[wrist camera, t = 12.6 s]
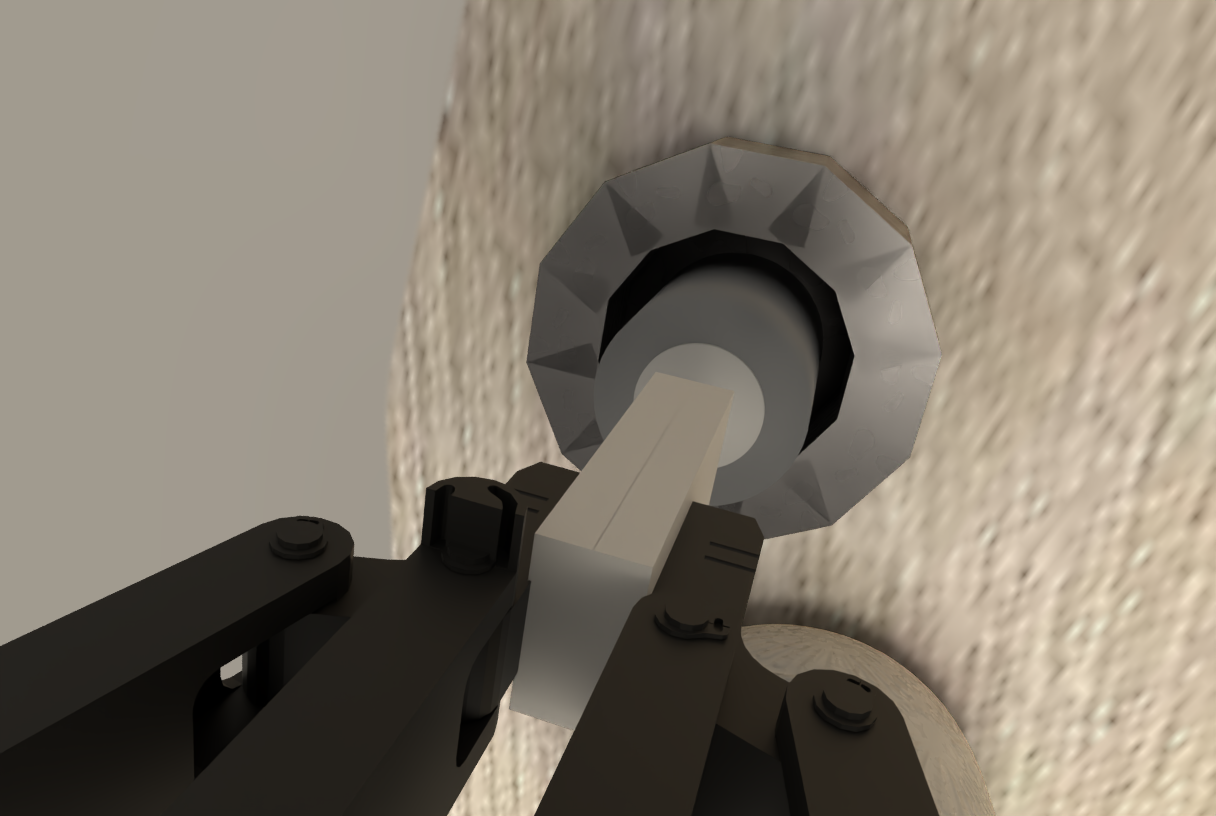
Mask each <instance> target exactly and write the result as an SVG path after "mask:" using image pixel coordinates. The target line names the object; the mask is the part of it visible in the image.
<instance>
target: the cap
mask: <svg viewBox="0 0 1216 816" xmlns="http://www.w3.org/2000/svg"><path fill="white" fill-rule="evenodd" d="M822 350H823V328H822V322H821V318H820V314H819V312H818V309H817V306H816V304H815V302H814V300H813V298H812V297H811V295H810V293H809V292H808V290H807V289H806V288H805V286H804V285H803V284H802V283H801V282H800V281H799V280H798V279H797V278H796V277H795V276H794V275H793V274H792V273H791V272H789V271H788V270H787V269H786V268H784V267H782V266H781V265H779V264H777V263H775V262H773V261H771V260H769V259H766V258H764V257H760V256H757V255H753V254H746V253H722V254H716V255H712V256H708V257H705V258H703V259H700V260H698V261H695V262H694V263H692V264H690V265H688V266H687V267H685V268H684V269H683V270H681V271H680V272H679V273H677V274H676V275H675V276H674V277H673V278H672V279H671V280H670V281H669V282H668V283H667V284H666V285H665V286H664V287H663V288H662V289H661V290H660V291H659V292H658V293H657V294H656V295H655V296H654V297H653V298H652V299H651V300H650V301H649V302H648V303H647V304H646V305H645V306H644V307H643V308H642V309H641V310H640V311H639V312H638V313H637V314H636V315H635V316H634V317H633V318H632V319H631V320H630V321H629V322H628V323H627V324H626V325H625V326H624V327H623V328H622V329H621V330H620V331H619V332H618V333H617V334H616V335H615V337H614V338H613V339H612V341H611V342H610V343H609V345H608V347H607V349H606V350H605V352H604V354H603V356H602V358H601V361H600V364H599V366H598V369H597V373H596V378H595V384H594V410H595V415H596V421H597V424H598V427H599V430H600V433H601V436H602V438H603V440H605V439H606V438H607V436H608V435H609V434H610V432H611V431H612V430H613V428H614V427H615V426H616V424H617V423H618V422H619V420H620V419H621V418H622V416H623V415H624V414H625V412H626V411H627V410H628V408H629V407H630V406H631V404H632V403H633V402H634V400H635V399H636V398H637V396H638V395H639V394H640V392H641V391H642V390H643V388H644V387H645V386H646V384H647V383H648V382H649V380H650V379H651V378H652V376H653V375H654V374H655V372H659V373H663V374H667V375H671V376H675V377H679V378H683V379H687V380H691V381H695V382H699V383H703V384H707V385H712V386H716V387H720V388H724V389H728V390H732V391H735V392H734V396H733V401H732V405H731V410H730V414H729V418H728V423H727V427H726V432H725V436H724V440H723V445H722V449H721V454H720V458H719V462H718V467H717V471H716V476H715V480H714V485H713V489H712V493H711V498H710V502H709V506H720V505H726V504H732V503H736V502H739V501H743V500H746V499H748V498H750V497H753V496H755V495H757V494H759V493H761V492H762V491H764V490H766V489H767V488H769V487H770V486H771V485H773V484H774V483H775V482H776V481H778V480H779V479H780V478H781V477H782V476H783V475H784V474H785V473H786V472H787V470H788V469H789V468H790V467H791V465H792V464H793V462H794V461H795V460H796V458H797V456H798V454H799V452H800V450H801V448H802V446H803V444H804V441H805V438H806V435H807V431H808V426H809V421H810V415H811V410H812V404H813V399H814V394H815V388H816V383H817V377H818V372H819V366H820V361H821V356H822Z"/></svg>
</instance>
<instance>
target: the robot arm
mask: <svg viewBox="0 0 1216 816" xmlns="http://www.w3.org/2000/svg"><path fill="white" fill-rule="evenodd" d="M734 392H735V391H732V390H728V389H724V388H720V387H716V386H712V385H707V384H703V383H699V382H695V381H691V380H687V379H683V378H679V377H675V376H671V375H667V374H663V373H659V372H655V374H654V375H653V376H652V378H651V379H650V380H649V382H648V383H647V384H646V386H645V387H644V388H643V390H642V391H641V392H640V394H639V395H638V396H637V398H636V399H635V400H634V402H633V403H632V404H631V406H630V407H629V408H628V410H627V411H626V412H625V414H624V415H623V416H622V418H621V419H620V420H619V422H618V423H617V424H616V426H615V427H614V428H613V430H612V431H611V432H610V434H609V435H608V436H607V438H606V439H605V440H604V442H603V443H602V444H601V446H600V447H599V448H598V450H597V451H596V452H595V454H594V455H593V456H592V458H591V459H590V460H589V462H588V463H587V464H586V466H585V467H584V468H583V470H582V471H581V472H580V473H579V472H576V471H572V470H568V469H565V468H561V467H557V466H554V465H550V464H546V463H543V462H539V463H537V464H534V465H532V466H529V467H527V468H524V469H522V470H519V471H517V472H516V473H515V474H514V475H513V476H512V478H511V479H510V480H509V481H508V482H507V483H506V484H503V483H500V482H498V481H495V480H490V479H485V478H479V477H454V478H450V479H445V480H441V481H438V482H436V483H434V484H432V485H431V486H429V487H427V488H426V496H425V507H424V518H423V529H422V540H421V545H420V546H419V547H418V548H417V549H416V550H415V551H414V552H413V553H412V554H411V555H410V556H409V557H408V558H407V559H406V560H386V559H375V558H365V557H354V556H353V555H354V541H353V539H352V537H351V535H350V532H348V531H347V530H346V529H344V528H343V527H342V526H340V525H339V524H337V523H334V522H331V521H328V520H325V519H322V518H317V517H309V516H296V517H288V518H279V519H276V520H273V521H270V522H267V523H264V524H261V525H259V526H257V527H255V528H252V529H250V530H248V531H246V532H244V533H242V534H240V535H237V536H235V537H233V538H231V539H229V540H227V541H224V542H222V543H220V544H218V545H216V546H214V547H212V548H209V549H207V550H205V551H203V552H201V553H199V554H197V555H194V556H192V557H190V558H188V559H186V560H184V561H182V562H179V563H177V564H175V565H173V566H171V567H169V568H167V569H165V570H162V571H160V572H158V573H156V574H154V575H152V576H149V577H147V578H145V579H143V580H141V581H139V582H137V583H135V584H132V585H130V586H128V587H126V588H124V589H122V590H120V591H117V592H115V593H113V594H111V595H109V596H107V597H105V598H103V599H100V600H98V601H96V602H94V603H92V604H90V605H87V606H85V607H83V608H81V609H79V610H77V611H75V612H73V613H70V614H68V615H66V616H64V617H62V618H60V619H58V620H55V621H53V622H51V623H49V624H47V625H45V626H42V627H40V628H38V629H36V630H34V631H32V632H30V633H27V634H25V635H23V636H21V637H19V638H17V639H15V640H12V641H10V642H8V643H6V644H4V645H2V646H0V816H447V815H448V813H449V811H450V809H451V808H452V806H453V804H454V803H455V801H456V799H457V797H458V796H459V794H460V792H461V791H462V789H463V787H464V785H465V784H466V782H467V780H468V778H469V777H470V775H471V773H472V772H473V770H474V768H475V766H476V765H477V763H478V761H479V760H480V758H481V756H482V754H483V753H484V751H485V749H486V747H487V746H488V744H489V742H490V741H491V739H492V737H493V735H494V732H495V729H496V725H497V721H498V714H499V707H500V700H501V699H502V697H503V695H504V694H505V692H506V690H507V689H508V687H509V685H510V684H511V682H512V681H513V686H512V692H511V699H510V706H509V709H510V710H513V711H516V712H519V713H522V714H525V715H528V716H531V717H534V718H537V719H540V720H543V721H546V722H549V723H552V724H555V725H558V726H561V727H564V728H567V729H570V730H573V731H574V733H573V735H572V737H571V739H570V741H569V743H568V745H567V747H566V749H565V752H564V754H563V756H562V758H561V760H560V762H559V764H558V766H557V768H556V771H555V773H554V775H553V777H552V779H551V781H550V783H549V785H548V787H547V790H546V792H545V794H544V796H543V798H542V800H541V802H540V804H539V807H538V809H537V811H536V813H535V815H534V816H939V813H938V810H937V808H936V805H935V802H934V800H933V797H932V794H931V791H930V789H929V786H928V783H927V780H926V778H925V775H924V772H923V769H922V767H921V764H920V761H919V759H918V756H917V753H916V750H915V748H914V745H913V742H912V739H911V737H910V734H909V731H908V729H907V726H906V723H905V720H904V718H903V716H902V714H901V713H900V711H899V709H898V708H897V706H896V705H895V703H894V701H893V700H891V699H890V698H889V697H888V696H887V695H886V694H884V693H883V692H882V691H881V690H880V689H879V688H878V687H876V686H874V685H872V684H870V683H868V682H867V681H865V680H863V679H861V678H859V677H857V676H854V675H851V674H847V673H844V672H840V671H836V670H822V669H813V670H809V671H806V672H803V673H800V674H797V675H796V676H795V677H794V678H793V679H792V680H791V681H790V682H788V681H786V680H784V679H782V678H780V677H779V676H777V675H775V674H774V673H772V672H771V671H769V670H768V669H766V668H765V667H763V666H762V665H761V664H760V663H759V662H758V661H757V660H756V659H754V658H753V657H752V655H751V654H750V653H749V651H748V650H747V648H746V647H745V645H744V643H743V640H742V637H741V626H742V622H743V618H744V614H745V610H746V607H747V603H748V599H749V595H750V591H751V587H752V583H753V579H754V575H755V572H756V568H757V564H758V560H759V556H760V552H761V548H762V544H763V540H764V536H763V534H762V531H761V529H760V527H759V525H758V523H757V521H756V519H755V518H753V517H749V516H745V515H742V514H738V513H734V512H731V511H727V510H723V509H720V508H716V507H712V506H709V502H710V498H711V493H712V489H713V485H714V480H715V476H716V471H717V467H718V462H719V458H720V454H721V449H722V445H723V440H724V436H725V432H726V427H727V423H728V418H729V414H730V410H731V405H732V401H733V396H734ZM240 655H242V671H241V672H239V673H237V674H236V675H234V676H232V677H230V678H228V679H225V680H221V677H220V667H222V666H224V665H225V664H227V663H229V662H230V661H232V660H234V659H235V658H237V657H239V656H240Z"/></svg>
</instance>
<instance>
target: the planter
mask: <svg viewBox="0 0 1216 816" xmlns="http://www.w3.org/2000/svg"><path fill="white" fill-rule="evenodd" d="M741 637H742V640H743V643H744V645H745V647H746V648H747V650H748V651H749V653H750V654H751V655H752V657H753V658H754V659H756V660H757V661H758V662H759V663H760V664H761V665H762V666H763V667H765V668H766V669H768V670H769V671H771V672H772V673H774V674H775V675H777V676H779V677H780V678H782V679H784V680H786V681H788V682H790V681H791V680H792V679H793V678H794V677H795V676H796V675H797V674H800V673H803V672H806V671H809V670H813V669H822V670H836V671H840V672H844V673H847V674H851V675H854V676H857V677H859V678H861V679H863V680H865V681H867V682H868V683H870V684H872V685H874V686H876V687H878V688H879V689H880V690H881V691H882V692H883V693H884V694H886V695H887V696H888V697H889V698H890V699H891V700H893V701H894V703H895V705H896V706H897V708H898V709H899V711H900V713H901V714H902V716H903V718H904V720H905V723H906V726H907V729H908V731H909V734H910V737H911V739H912V742H913V745H914V748H915V750H916V753H917V756H918V759H919V761H920V764H921V767H922V769H923V772H924V775H925V778H926V780H927V783H928V786H929V789H930V791H931V794H932V797H933V800H934V802H935V805H936V808H937V810H938V813H939V816H995V812H994V809H993V806H992V803H991V799H990V796H989V793H988V790H987V787H986V785H985V782H984V779H983V776H982V774H981V771H980V768H979V766H978V764H977V761H976V759H975V756H974V754H973V752H972V750H971V748H970V746H969V744H968V742H967V740H966V739H965V737H964V735H963V733H962V731H961V730H960V728H959V726H958V725H957V723H956V722H955V720H954V719H953V717H952V716H951V714H950V713H949V712H948V710H947V709H946V707H945V706H944V705H943V703H942V702H941V701H940V700H939V699H938V698H937V697H936V696H935V694H934V693H933V692H932V691H931V690H930V689H929V688H928V687H927V686H926V685H924V684H923V683H922V682H921V681H920V680H919V679H918V678H917V677H916V676H915V675H914V674H912V673H911V672H910V671H909V670H907V669H906V668H905V667H903V666H902V665H901V664H899V663H898V662H897V661H895V660H893V659H892V658H890V657H889V656H887V655H885V654H884V653H882V652H880V651H878V650H876V649H874V648H873V647H871V646H869V645H867V644H865V643H862V642H860V641H857V640H855V639H852V638H850V637H847V636H844V635H841V634H838V633H834V632H831V631H828V630H823V629H818V628H813V627H808V626H799V625H791V624H763V625H752V626H745V627H741Z"/></svg>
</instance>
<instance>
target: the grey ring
mask: <svg viewBox="0 0 1216 816" xmlns="http://www.w3.org/2000/svg"><path fill="white" fill-rule="evenodd" d="M722 253H746V254H753V255H757V256H760V257H764V258H766V259H769V260H771V261H773V262H775V263H777V264H779V265H781V266H782V267H784V268H786V269H787V270H788V271H789V272H791V273H792V274H793V275H794V276H795V277H796V278H797V279H798V280H799V281H800V282H801V283H802V284H803V285H804V286H805V288H806V289H807V290H808V292H809V293H810V295H811V297H812V298H813V300H814V302H815V304H816V306H817V309H818V312H819V314H820V318H821V322H822V328H823V350H822V356H821V361H820V366H819V372H818V377H817V383H816V388H815V394H814V399H813V404H812V410H811V415H810V421H809V426H808V431H807V435H806V438H805V441H804V444H803V446H802V448H801V450H800V452H799V454H798V456H797V458H796V460H795V461H794V462H793V464H792V465H791V467H790V468H789V469H788V470H787V472H786V473H785V474H784V475H783V476H782V477H781V478H780V479H779V480H778V481H776V482H775V483H774V484H773V485H771V486H770V487H769V488H767V489H766V490H764V491H762V492H761V493H759V494H757V495H755V496H753V497H750V498H748V499H746V500H743V501H739V502H736V503H732V504H726V505H720V506H712V507H716V508H720V509H723V510H727V511H731V512H734V513H738V514H742V515H745V516H749V517H753V518H755V519H756V521H757V523H758V525H759V527H760V529H761V531H762V534H763V536H764V539H769V538H773V537H778V536H783V535H788V534H793V533H797V532H802V531H807V530H812V529H817V528H822V527H826V526H831V525H833V524H834V523H835V522H836V521H837V520H838V519H840V518H841V517H842V516H843V515H844V514H845V513H846V512H848V511H849V510H850V509H851V508H852V507H853V506H855V505H856V504H857V503H858V502H859V501H860V500H861V499H863V498H864V497H865V496H866V495H867V494H868V493H869V492H871V491H872V490H873V489H874V488H875V487H876V486H878V485H879V484H880V483H881V482H882V481H883V480H884V479H886V478H887V477H888V476H889V475H890V474H891V473H893V472H894V471H895V470H896V469H897V468H898V467H899V466H901V465H902V464H903V463H904V462H905V461H906V460H907V459H909V458H910V456H911V452H912V449H913V446H914V443H915V440H916V436H917V433H918V430H919V427H920V424H921V420H922V417H923V414H924V411H925V408H926V404H927V401H928V398H929V395H930V392H931V388H932V385H933V382H934V379H935V376H936V372H937V369H938V366H939V363H940V360H941V356H942V352H941V348H940V344H939V340H938V336H937V332H936V329H935V325H934V321H933V318H932V314H931V310H930V307H929V303H928V299H927V296H926V292H925V289H924V285H923V281H922V278H921V274H920V271H919V267H918V263H917V260H916V256H915V252H914V249H913V245H912V242H911V238H910V234H909V231H908V227H907V226H906V225H905V224H904V223H903V222H901V221H900V220H899V219H898V218H897V217H896V216H895V215H894V214H893V213H892V212H890V211H889V210H888V209H887V208H886V207H885V206H884V205H883V204H882V203H881V202H879V201H878V200H877V199H876V198H875V197H874V196H873V195H872V194H871V193H870V192H869V191H867V190H866V189H865V188H864V187H863V186H862V185H861V184H860V183H859V182H858V181H856V180H855V179H854V178H853V177H852V176H851V175H850V174H849V173H848V172H847V171H845V170H844V169H843V168H842V167H841V166H840V165H839V164H838V163H837V162H836V161H834V160H833V159H832V158H831V157H830V156H826V155H821V154H815V153H810V152H805V151H800V150H795V149H789V148H784V147H779V146H774V145H768V144H763V143H758V142H753V141H748V140H742V139H737V138H732V137H724V138H722V139H719V140H716V141H713V142H711V143H708V144H705V145H703V146H700V147H697V148H694V149H692V150H689V151H686V152H684V153H681V154H678V155H675V156H673V157H670V158H667V159H665V160H662V161H659V162H656V163H654V164H651V165H648V166H645V167H643V168H640V169H637V170H635V171H632V172H629V173H627V174H624V175H621V176H619V177H616V178H614V179H611V180H608V181H606V182H604V184H603V185H602V186H601V187H600V189H599V190H598V191H597V192H596V194H595V195H594V196H593V197H592V199H591V200H590V201H589V203H588V204H587V205H586V206H585V208H584V209H583V210H582V211H581V213H580V214H579V215H578V216H577V218H576V219H575V220H574V221H573V223H572V224H571V225H570V226H569V228H568V229H567V230H566V231H565V233H564V234H563V235H562V236H561V238H560V239H559V240H558V241H557V243H556V244H555V245H554V247H553V248H552V249H551V250H550V252H549V253H548V254H547V255H546V257H545V258H544V259H543V260H542V262H541V263H540V267H539V275H538V282H537V289H536V296H535V304H534V311H533V318H532V326H531V333H530V340H529V347H528V355H527V365H528V367H529V370H530V373H531V375H532V378H533V380H534V383H535V386H536V388H537V391H538V393H539V396H540V399H541V401H542V404H543V406H544V409H545V411H546V414H547V417H548V419H549V422H550V424H551V427H552V430H553V432H554V435H555V437H556V440H557V443H558V445H559V448H560V450H561V453H562V454H563V455H564V456H565V457H566V458H567V459H568V460H569V461H570V462H572V463H573V464H574V465H575V466H576V467H577V468H578V469H579V470H581V471H582V470H583V468H584V467H585V466H586V464H587V463H588V462H589V460H590V459H591V458H592V456H593V455H594V454H595V452H596V451H597V450H598V448H599V447H600V446H601V444H602V443H603V442H604V440H603V438H602V436H601V433H600V430H599V427H598V424H597V421H596V415H595V410H594V384H595V378H596V373H597V369H598V366H599V364H600V361H601V358H602V356H603V354H604V352H605V350H606V349H607V347H608V345H609V343H610V342H611V341H612V339H613V338H614V337H615V335H616V334H617V333H618V332H619V331H620V330H621V329H622V328H623V327H624V326H625V325H626V324H627V323H628V322H629V321H630V320H631V319H632V318H633V317H634V316H635V315H636V314H637V313H638V312H639V311H640V310H641V309H642V308H643V307H644V306H645V305H646V304H647V303H648V302H649V301H650V300H651V299H652V298H653V297H654V296H655V295H656V294H657V293H658V292H659V291H660V290H661V289H662V288H663V287H664V286H665V285H666V284H667V283H668V282H669V281H670V280H671V279H672V278H673V277H674V276H675V275H676V274H677V273H679V272H680V271H681V270H683V269H684V268H685V267H687V266H688V265H690V264H692V263H694V262H695V261H698V260H700V259H703V258H705V257H708V256H712V255H716V254H722Z"/></svg>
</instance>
